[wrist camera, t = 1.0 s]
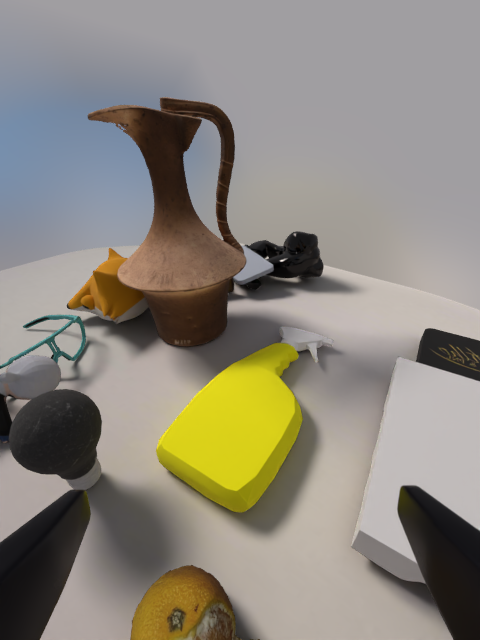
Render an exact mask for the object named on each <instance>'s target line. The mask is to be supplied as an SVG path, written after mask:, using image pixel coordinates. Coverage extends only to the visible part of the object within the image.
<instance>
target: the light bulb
mask: <svg viewBox="0 0 480 640" xmlns="http://www.w3.org/2000/svg"><path fill="white" fill-rule="evenodd" d="M101 425H102V420H101V415H100V412H99V409H98V407H97V406H96V405H95V403H94V402H93V401H92V400H91V399H90V398H89V397H88V396H86V395H84V394H82V393H80V392H78V391H74V390H67V389H63V390H53V391H49V392H46V393H43V394H41V395H39V396H37V397H35V398H34V399H32V400H31V401H29V402H28V403H27V404H26V405H25V406H23V408H22V409H21V410H20V411H19V413H18V414H17V415H16V417H15V419H14V421H13V423H12V425H11V429H10V434H9V445H10V450H11V452H12V455H13V457H14V458H15V459H16V461H17V462H18V463H19V464H21V465H22V466H23V467H24V468H26V469H28V470H31V471H33V472H36V473H40V474H57V475H59V476H60V477H61V478H63V479H66V481H67V482H68V483H69V485H70V486H71V487H72V488H73V489H75V490H81V489H83V490H86V489H88V488H90V487H92V486H93V485H94V484H95V483H96V482H97V481H98V479H99V477H100V475H101V465H100V463H99V461H98V459H97V452H96V446H97V444H98V441H99V438H100V435H101Z"/></svg>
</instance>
